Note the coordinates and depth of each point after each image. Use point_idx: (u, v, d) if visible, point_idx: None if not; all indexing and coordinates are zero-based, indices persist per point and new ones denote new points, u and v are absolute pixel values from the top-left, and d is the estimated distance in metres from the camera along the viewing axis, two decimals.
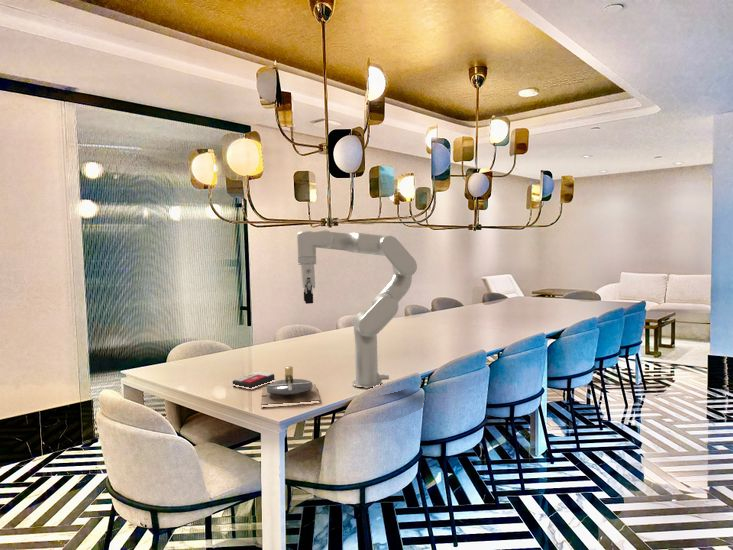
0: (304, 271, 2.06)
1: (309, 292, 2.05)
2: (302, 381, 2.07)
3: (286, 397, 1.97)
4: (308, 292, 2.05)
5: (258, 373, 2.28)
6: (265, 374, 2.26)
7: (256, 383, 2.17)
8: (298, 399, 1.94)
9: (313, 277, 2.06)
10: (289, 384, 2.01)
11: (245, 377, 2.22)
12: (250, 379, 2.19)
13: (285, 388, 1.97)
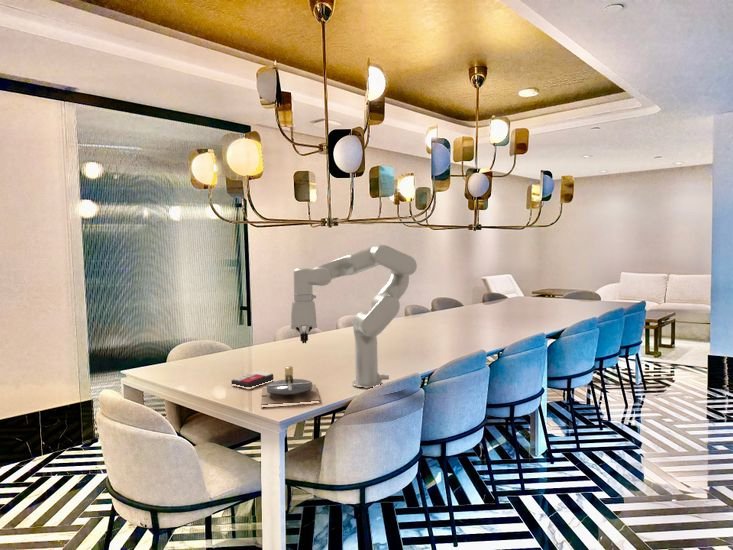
0: None
1: None
2: (302, 381, 2.07)
3: (286, 397, 1.97)
4: None
5: (257, 373, 2.28)
6: (264, 374, 2.26)
7: (254, 383, 2.17)
8: (298, 399, 1.94)
9: None
10: (289, 384, 2.01)
11: (244, 377, 2.23)
12: (248, 379, 2.19)
13: (285, 388, 1.97)
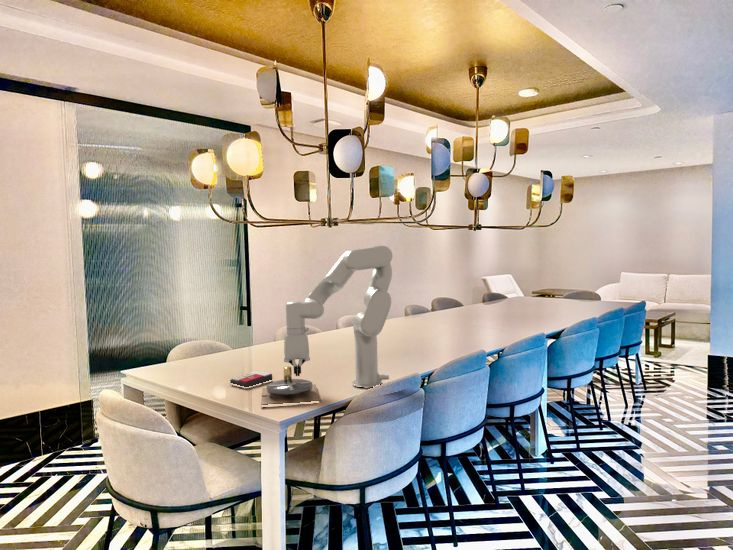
0: (307, 341, 2.08)
1: None
2: (301, 381, 2.07)
3: (286, 397, 1.97)
4: None
5: (257, 372, 2.29)
6: (263, 374, 2.26)
7: (252, 382, 2.18)
8: (298, 399, 1.94)
9: None
10: (289, 384, 2.01)
11: (243, 376, 2.24)
12: (247, 378, 2.20)
13: (286, 388, 1.97)
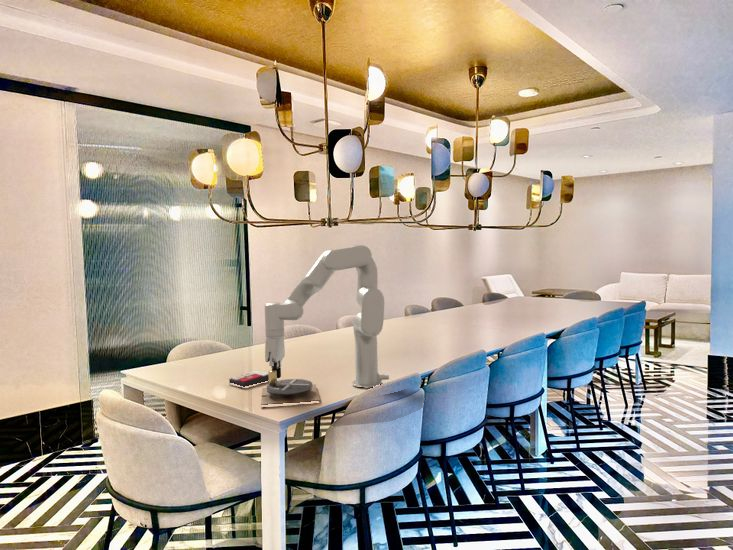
0: None
1: None
2: (284, 381, 2.08)
3: (286, 397, 1.97)
4: None
5: (256, 372, 2.29)
6: (262, 373, 2.27)
7: (250, 382, 2.18)
8: (298, 399, 1.94)
9: None
10: (290, 384, 2.02)
11: (242, 376, 2.24)
12: (245, 378, 2.21)
13: (298, 386, 2.00)
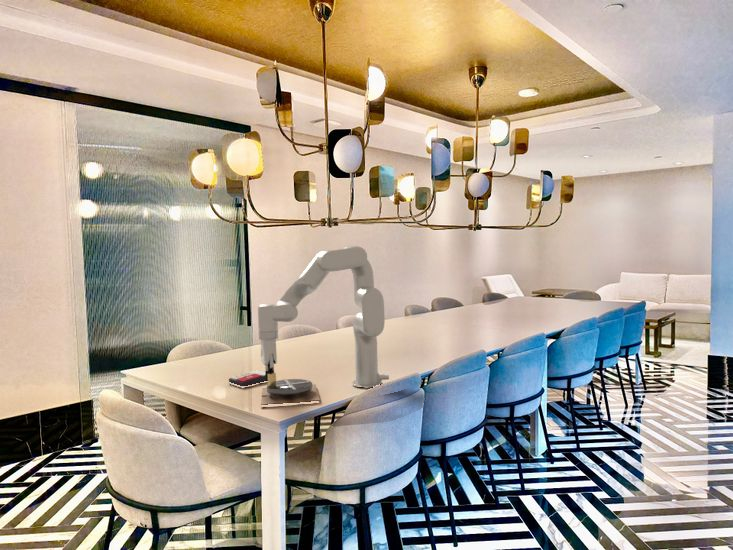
0: None
1: None
2: (276, 383, 2.05)
3: (286, 397, 1.97)
4: None
5: (256, 372, 2.30)
6: (262, 373, 2.27)
7: (249, 382, 2.19)
8: (298, 399, 1.94)
9: None
10: (291, 383, 2.02)
11: (241, 375, 2.25)
12: (244, 378, 2.21)
13: (301, 384, 2.02)
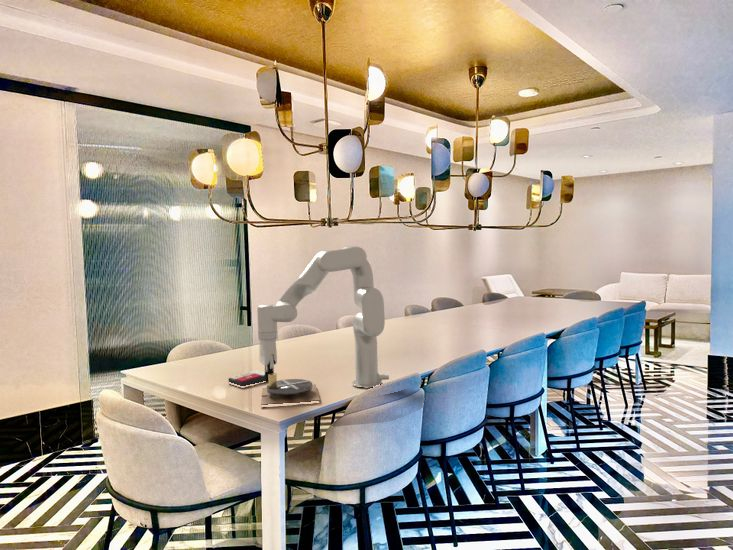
0: None
1: None
2: None
3: (286, 397, 1.97)
4: None
5: (256, 372, 2.30)
6: (261, 373, 2.27)
7: (248, 382, 2.19)
8: (298, 399, 1.94)
9: None
10: (291, 383, 2.02)
11: (241, 375, 2.25)
12: (244, 378, 2.21)
13: (301, 384, 2.03)
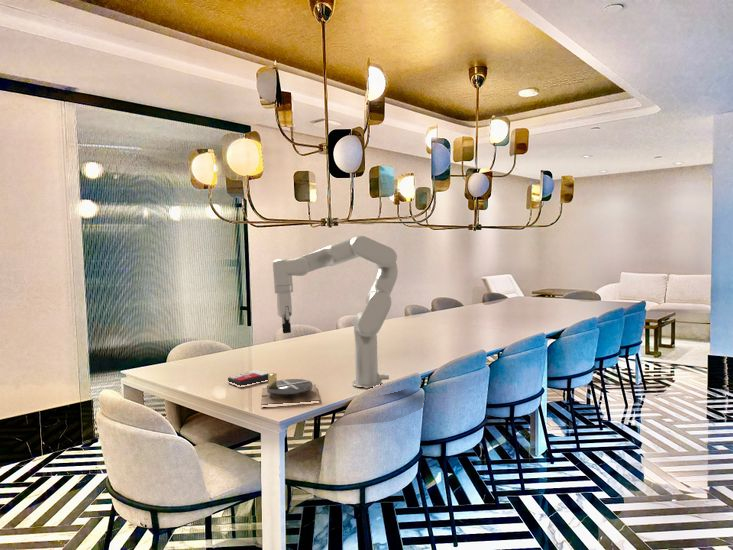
0: None
1: None
2: None
3: (286, 397, 1.97)
4: None
5: (255, 372, 2.30)
6: (260, 373, 2.27)
7: (247, 381, 2.20)
8: (298, 399, 1.94)
9: None
10: (291, 383, 2.02)
11: (240, 375, 2.26)
12: (242, 377, 2.22)
13: (301, 384, 2.03)
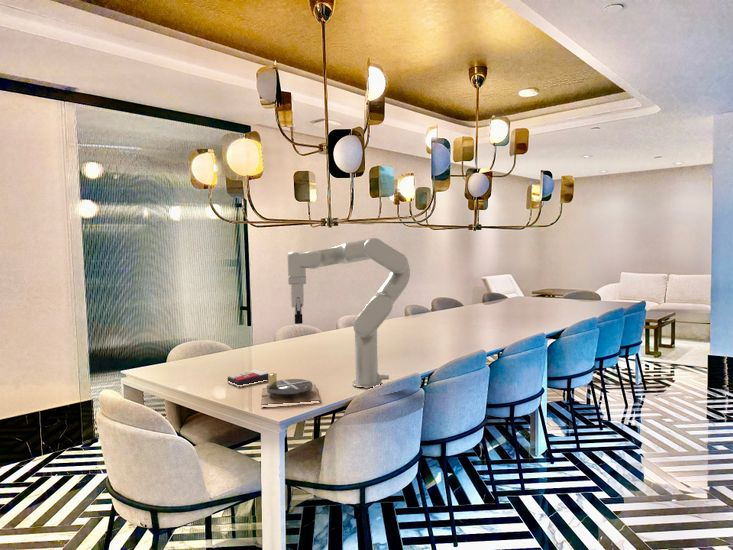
0: None
1: None
2: None
3: (286, 397, 1.97)
4: None
5: (255, 371, 2.31)
6: (260, 373, 2.28)
7: (245, 381, 2.20)
8: (298, 399, 1.94)
9: None
10: (291, 383, 2.02)
11: (240, 374, 2.27)
12: (241, 377, 2.23)
13: (301, 384, 2.03)
